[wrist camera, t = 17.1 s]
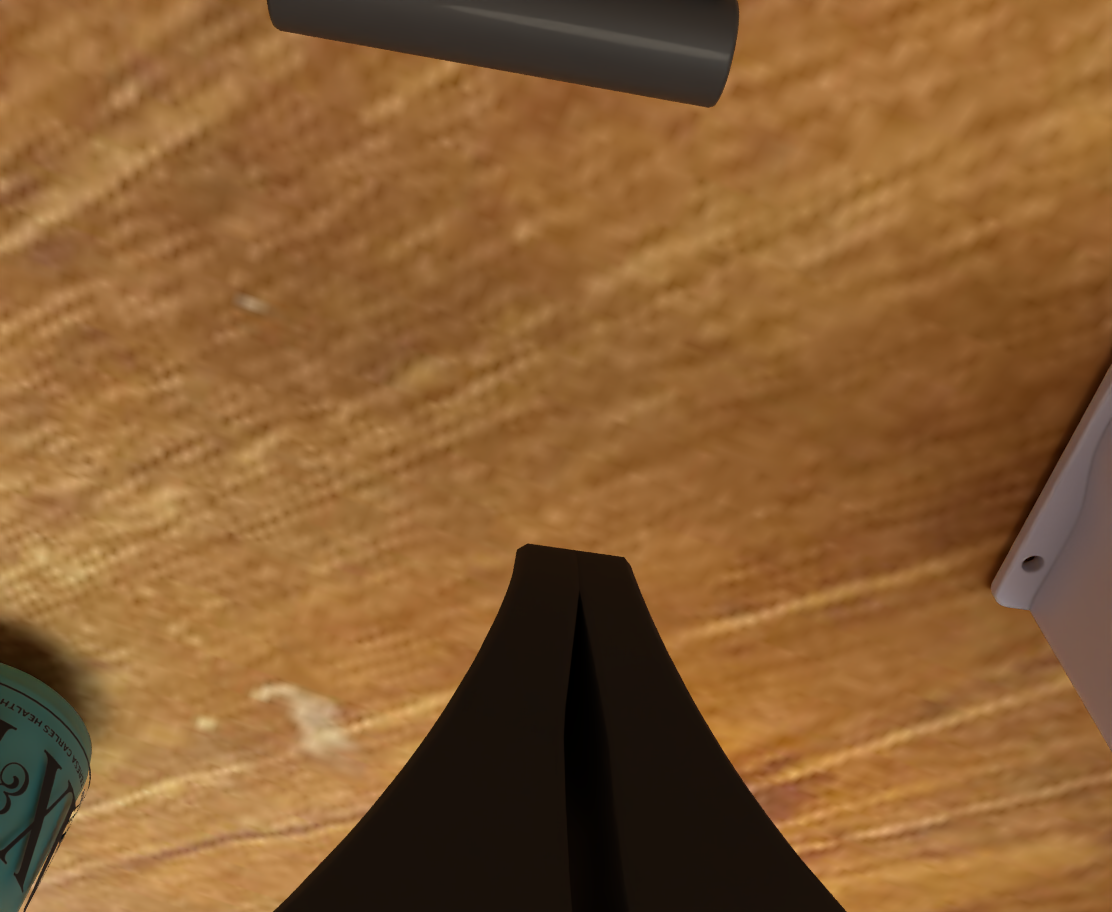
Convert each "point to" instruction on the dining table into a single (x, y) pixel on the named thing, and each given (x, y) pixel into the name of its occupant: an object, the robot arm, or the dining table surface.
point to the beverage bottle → (35, 779)
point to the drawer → (546, 38)
